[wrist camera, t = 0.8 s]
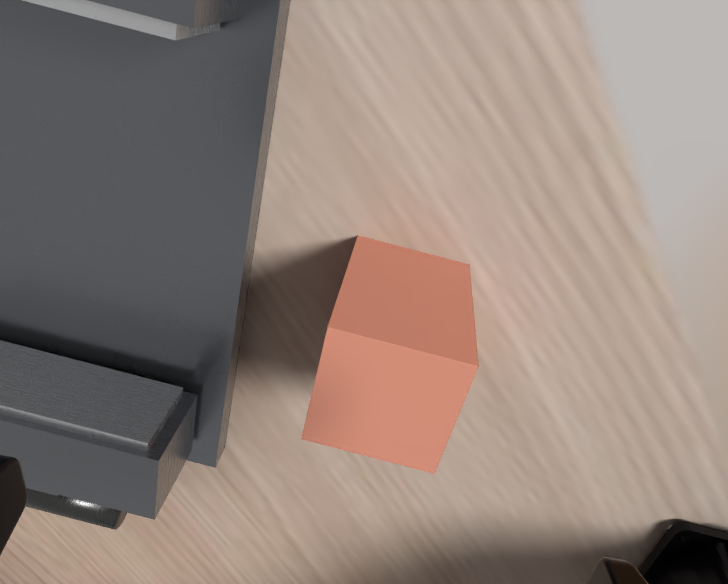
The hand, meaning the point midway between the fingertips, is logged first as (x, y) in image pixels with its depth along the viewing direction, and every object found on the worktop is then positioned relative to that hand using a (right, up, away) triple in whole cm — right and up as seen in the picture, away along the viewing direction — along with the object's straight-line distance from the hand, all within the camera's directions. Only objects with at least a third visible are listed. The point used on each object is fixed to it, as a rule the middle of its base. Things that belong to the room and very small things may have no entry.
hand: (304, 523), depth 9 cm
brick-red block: (+2, +3, +12) cm, 13 cm away
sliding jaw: (-11, -2, +15) cm, 19 cm away
